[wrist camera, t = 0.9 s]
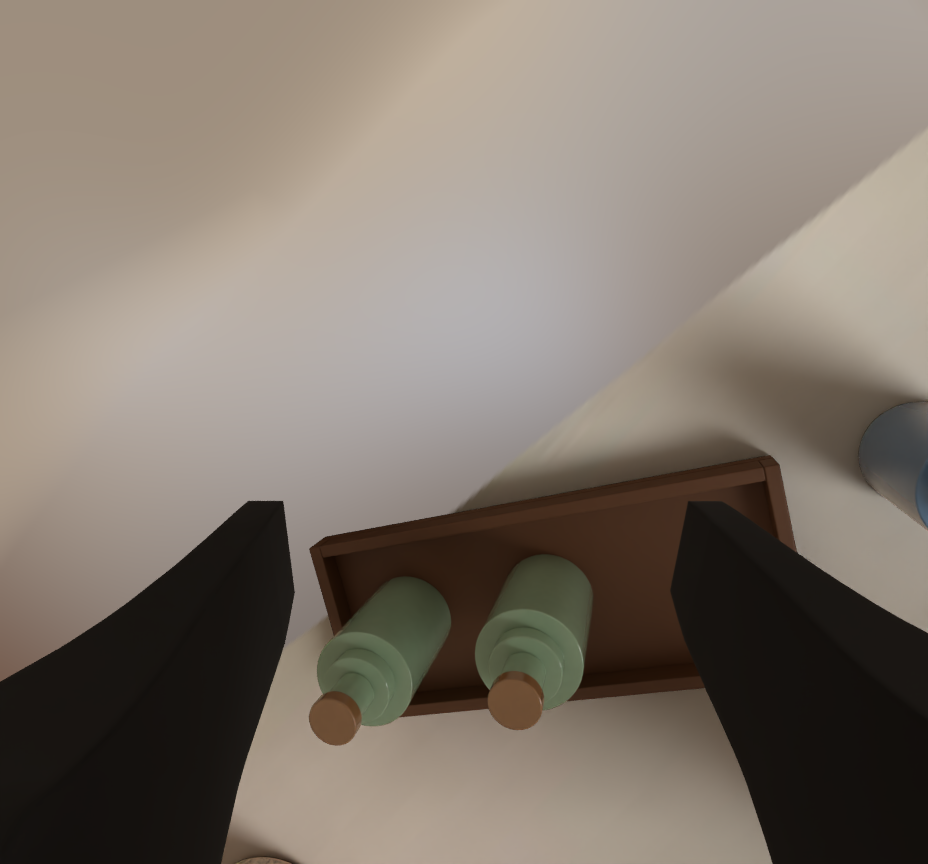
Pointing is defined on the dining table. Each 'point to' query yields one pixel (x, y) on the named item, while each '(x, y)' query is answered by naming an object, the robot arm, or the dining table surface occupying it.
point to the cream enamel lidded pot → (263, 861)
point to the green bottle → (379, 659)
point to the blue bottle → (899, 458)
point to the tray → (573, 538)
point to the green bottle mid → (535, 640)
